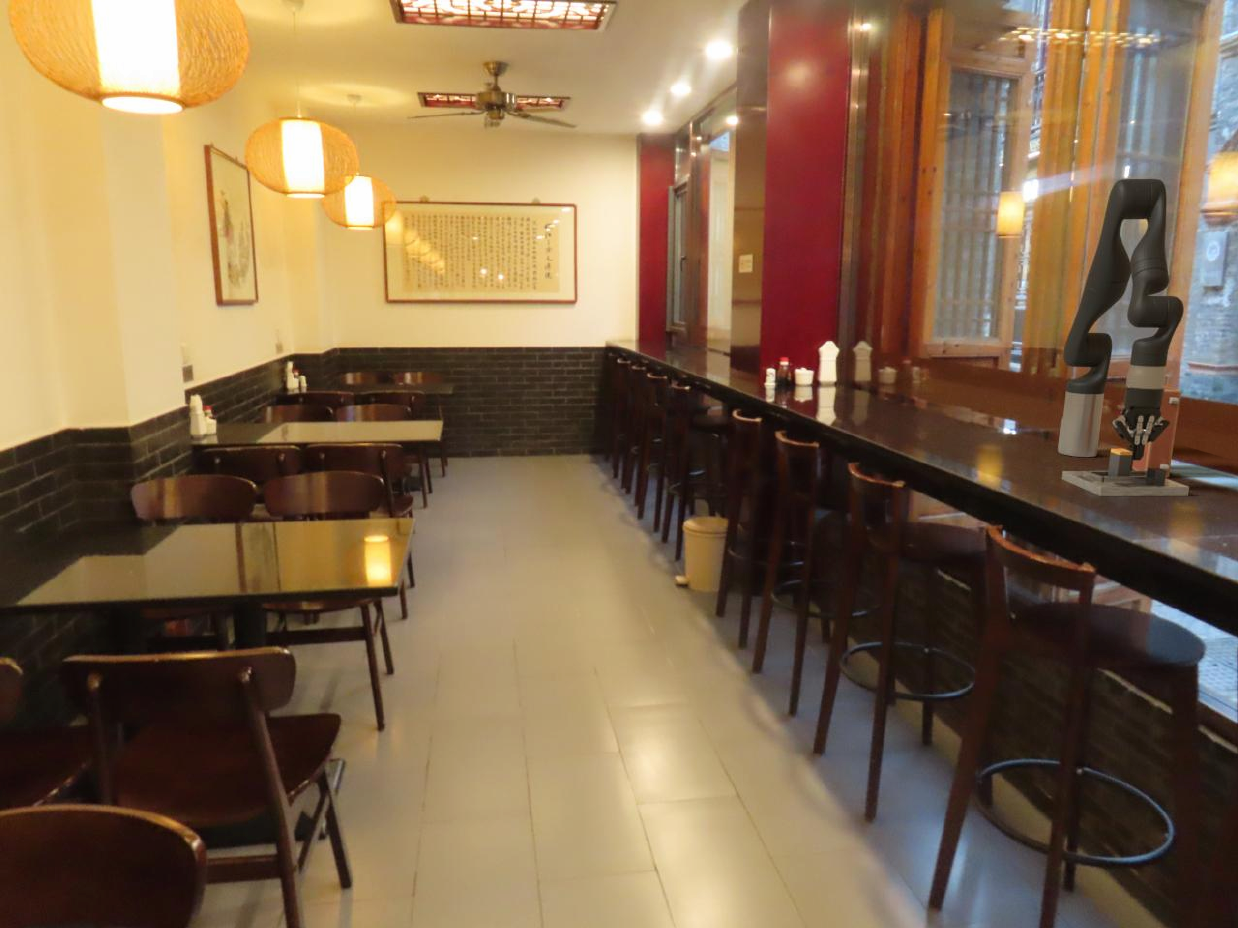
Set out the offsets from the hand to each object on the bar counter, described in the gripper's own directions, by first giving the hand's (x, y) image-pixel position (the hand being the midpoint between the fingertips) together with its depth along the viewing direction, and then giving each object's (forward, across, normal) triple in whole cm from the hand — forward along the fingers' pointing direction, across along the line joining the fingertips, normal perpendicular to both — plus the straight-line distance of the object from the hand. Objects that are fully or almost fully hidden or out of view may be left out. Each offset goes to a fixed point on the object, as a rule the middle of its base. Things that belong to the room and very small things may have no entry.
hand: (1135, 459), depth 196 cm
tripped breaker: (+4, +3, 0) cm, 5 cm away
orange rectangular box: (+7, -14, -16) cm, 22 cm away
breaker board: (+6, +2, 0) cm, 7 cm away
